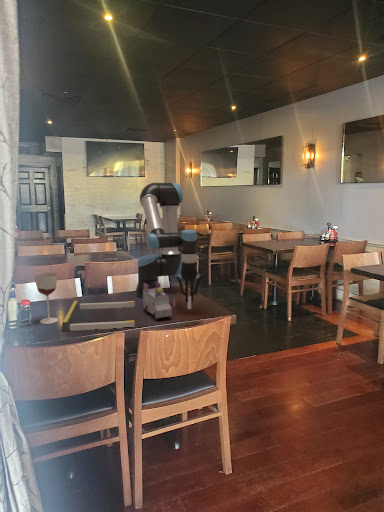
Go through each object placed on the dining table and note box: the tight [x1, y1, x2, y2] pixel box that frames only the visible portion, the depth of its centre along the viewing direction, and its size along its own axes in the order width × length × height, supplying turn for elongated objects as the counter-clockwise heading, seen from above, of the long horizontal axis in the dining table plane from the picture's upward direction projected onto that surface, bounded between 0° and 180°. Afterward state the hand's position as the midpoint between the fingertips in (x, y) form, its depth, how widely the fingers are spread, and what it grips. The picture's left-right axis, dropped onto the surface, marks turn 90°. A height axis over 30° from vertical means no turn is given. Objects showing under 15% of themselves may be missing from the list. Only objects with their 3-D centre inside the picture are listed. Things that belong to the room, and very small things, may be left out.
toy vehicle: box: [142, 281, 173, 321], centre depth 185 cm, size 9×20×15 cm, turn 27°
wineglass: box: [34, 272, 59, 325], centre depth 176 cm, size 9×10×22 cm
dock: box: [62, 300, 136, 332], centre depth 182 cm, size 31×32×4 cm
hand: (189, 308), depth 188 cm, fingers closed
